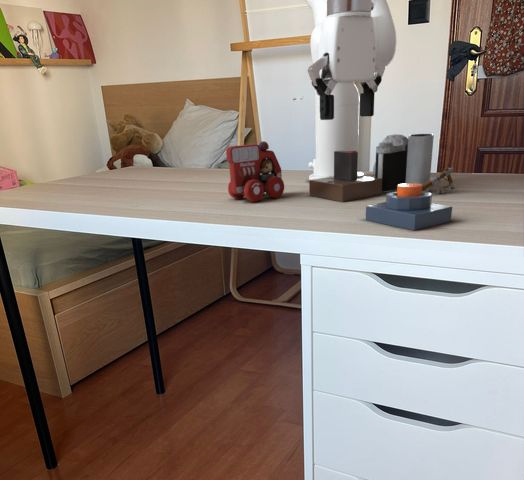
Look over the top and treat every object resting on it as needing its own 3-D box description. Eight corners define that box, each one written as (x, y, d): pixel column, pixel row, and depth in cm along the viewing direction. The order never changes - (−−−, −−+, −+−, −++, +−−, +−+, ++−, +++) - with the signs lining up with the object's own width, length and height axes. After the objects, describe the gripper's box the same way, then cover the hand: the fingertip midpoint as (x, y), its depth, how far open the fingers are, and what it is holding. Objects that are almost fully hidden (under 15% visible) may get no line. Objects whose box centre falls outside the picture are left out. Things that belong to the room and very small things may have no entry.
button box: (365, 220, 83) (366, 194, 82) (401, 212, 87) (402, 187, 85) (414, 230, 76) (416, 202, 74) (450, 221, 79) (453, 194, 78)
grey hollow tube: (416, 194, 100) (420, 136, 96) (400, 191, 104) (403, 135, 99) (434, 191, 102) (439, 134, 98) (417, 188, 106) (421, 133, 101)
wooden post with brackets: (460, 186, 100) (454, 164, 97) (425, 208, 100) (418, 186, 97) (455, 185, 101) (449, 163, 99) (419, 206, 101) (412, 185, 99)
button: (391, 197, 80) (392, 185, 80) (408, 193, 82) (408, 182, 81) (409, 200, 78) (410, 187, 77) (426, 196, 79) (427, 184, 78)
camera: (401, 179, 117) (404, 131, 112) (428, 182, 112) (432, 131, 108) (358, 189, 108) (359, 137, 104) (385, 192, 103) (388, 138, 99)
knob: (333, 178, 104) (333, 150, 102) (339, 177, 105) (340, 149, 102) (350, 180, 100) (351, 151, 98) (357, 179, 101) (357, 150, 99)
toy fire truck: (292, 195, 106) (290, 140, 102) (242, 205, 100) (238, 146, 95) (270, 191, 111) (268, 139, 107) (222, 200, 105) (217, 145, 100)
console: (309, 195, 105) (309, 179, 104) (347, 188, 110) (347, 173, 108) (342, 201, 98) (342, 184, 96) (381, 194, 102) (382, 177, 101)
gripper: (370, 13, 97) (367, 115, 104) (295, 10, 89) (297, 121, 96) (401, 7, 91) (395, 114, 99) (323, 2, 83) (323, 121, 90)
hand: (347, 117), depth 97 cm, fingers open, 9 cm apart
